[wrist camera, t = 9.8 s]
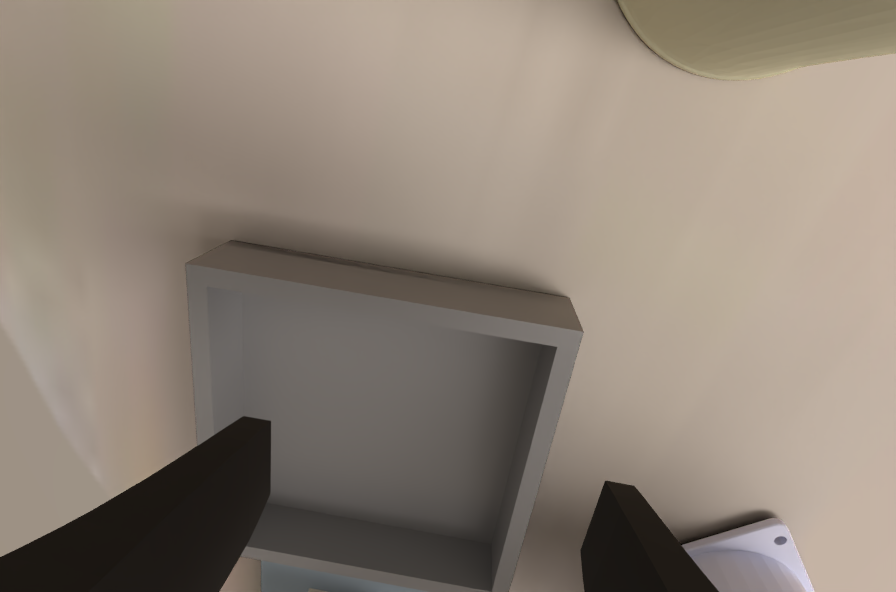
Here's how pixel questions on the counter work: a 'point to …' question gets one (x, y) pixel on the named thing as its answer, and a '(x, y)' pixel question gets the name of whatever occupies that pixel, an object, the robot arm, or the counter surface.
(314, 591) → the block
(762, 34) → the can
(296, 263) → the gray square tray
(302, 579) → the mat
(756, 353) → the counter surface
